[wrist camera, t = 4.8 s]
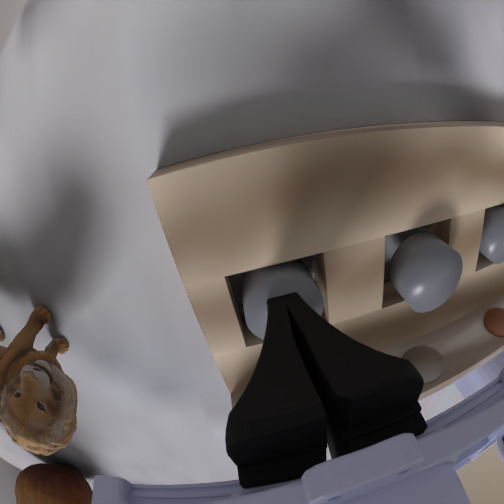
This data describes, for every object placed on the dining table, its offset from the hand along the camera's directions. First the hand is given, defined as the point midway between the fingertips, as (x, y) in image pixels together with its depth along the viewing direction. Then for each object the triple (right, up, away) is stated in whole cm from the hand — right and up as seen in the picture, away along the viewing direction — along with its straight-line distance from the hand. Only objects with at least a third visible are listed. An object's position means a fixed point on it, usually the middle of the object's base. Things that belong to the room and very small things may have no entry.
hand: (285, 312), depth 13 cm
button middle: (+7, +2, +1) cm, 8 cm away
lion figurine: (-17, -2, +2) cm, 17 cm away
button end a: (+14, +4, +2) cm, 15 cm away
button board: (+7, +3, +2) cm, 8 cm away
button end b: (0, +1, +2) cm, 2 cm away
